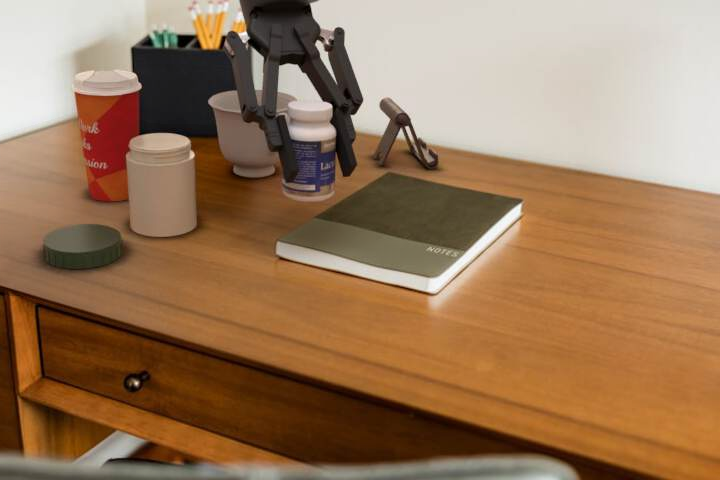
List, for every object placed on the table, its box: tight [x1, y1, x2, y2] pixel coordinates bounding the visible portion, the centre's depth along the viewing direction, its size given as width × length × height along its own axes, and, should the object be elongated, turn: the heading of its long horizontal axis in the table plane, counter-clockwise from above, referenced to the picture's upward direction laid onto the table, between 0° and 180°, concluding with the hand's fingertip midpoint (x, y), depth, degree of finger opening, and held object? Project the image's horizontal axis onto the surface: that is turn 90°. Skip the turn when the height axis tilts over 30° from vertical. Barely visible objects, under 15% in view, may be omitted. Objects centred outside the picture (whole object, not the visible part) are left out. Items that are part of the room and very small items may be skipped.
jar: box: [126, 132, 198, 238], centre depth 103 cm, size 8×8×10 cm
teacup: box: [207, 89, 298, 178], centre depth 121 cm, size 12×15×10 cm
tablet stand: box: [373, 97, 439, 170], centre depth 129 cm, size 9×8×8 cm
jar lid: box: [42, 223, 124, 270], centre depth 96 cm, size 8×8×2 cm
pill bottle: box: [281, 99, 337, 203], centre depth 96 cm, size 6×6×10 cm
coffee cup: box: [70, 69, 143, 202], centre depth 111 cm, size 8×8×15 cm
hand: (321, 173), depth 93 cm, fingers closed on pill bottle, 6 cm apart
